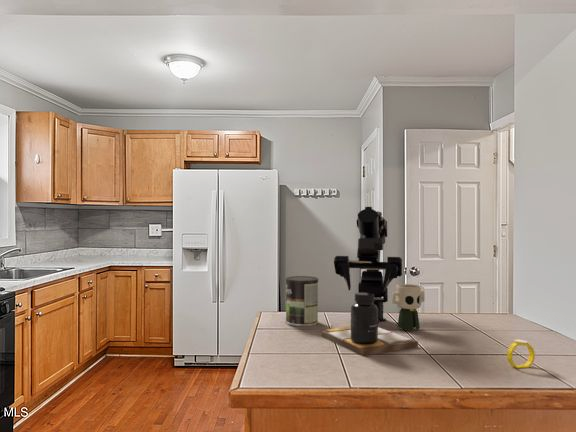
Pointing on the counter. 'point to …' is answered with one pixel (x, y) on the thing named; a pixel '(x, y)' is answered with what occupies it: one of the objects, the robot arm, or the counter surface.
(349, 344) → the wooden tray
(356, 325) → the supplement bottle
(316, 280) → the coffee can
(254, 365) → the counter surface
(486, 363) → the counter surface
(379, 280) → the robot arm
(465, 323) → the counter surface
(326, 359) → the counter surface
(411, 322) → the character mug
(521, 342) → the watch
